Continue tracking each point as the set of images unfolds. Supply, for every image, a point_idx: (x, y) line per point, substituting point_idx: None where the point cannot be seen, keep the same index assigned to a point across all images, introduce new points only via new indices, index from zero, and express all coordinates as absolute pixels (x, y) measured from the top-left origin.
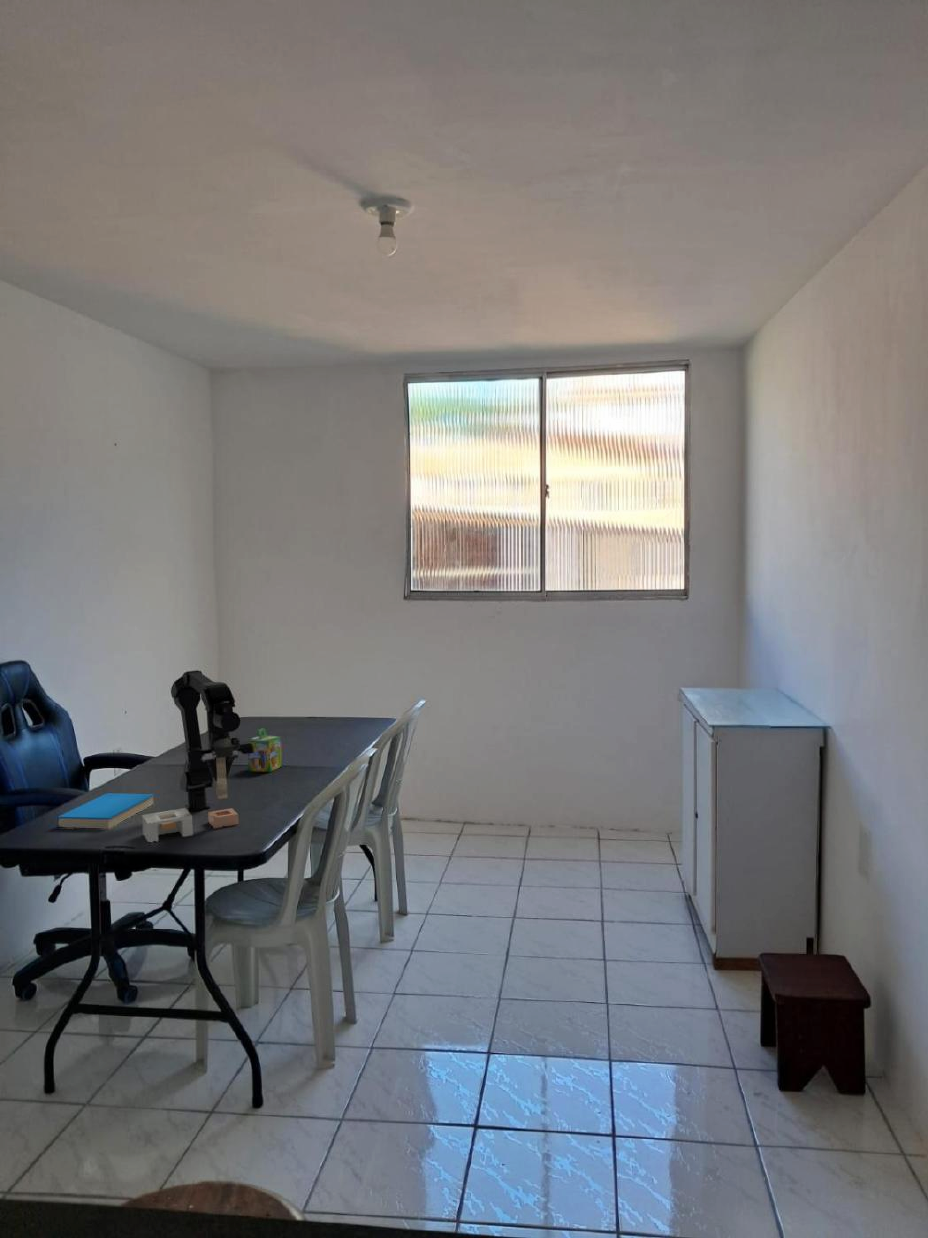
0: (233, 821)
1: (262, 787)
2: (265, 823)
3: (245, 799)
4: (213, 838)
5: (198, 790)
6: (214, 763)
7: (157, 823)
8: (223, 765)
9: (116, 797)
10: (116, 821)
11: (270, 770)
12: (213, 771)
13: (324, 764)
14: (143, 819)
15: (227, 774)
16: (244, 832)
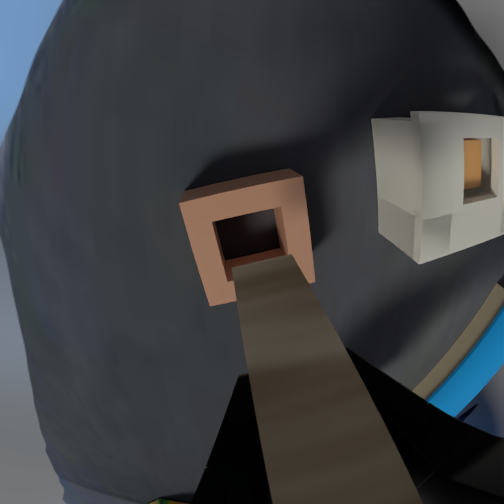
0: (204, 188)
1: (156, 465)
2: (76, 166)
3: (182, 427)
4: (297, 35)
5: None
6: (457, 481)
7: (501, 116)
8: (307, 498)
9: None
10: (484, 313)
11: (159, 500)
12: (413, 405)
13: (84, 490)
14: None
15: (238, 410)
16: (163, 62)
